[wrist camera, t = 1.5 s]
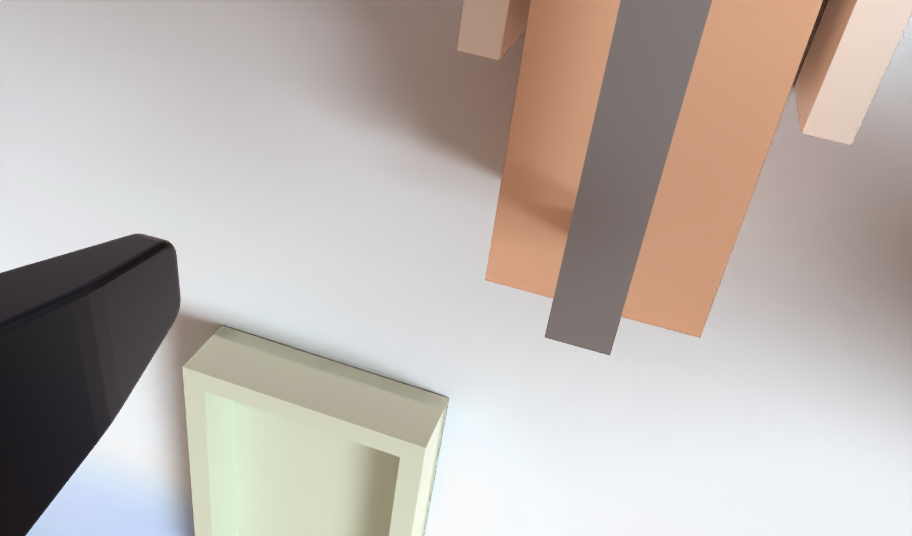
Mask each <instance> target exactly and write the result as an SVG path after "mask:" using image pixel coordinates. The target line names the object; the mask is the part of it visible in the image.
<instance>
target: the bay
mask: <svg viewBox="0 0 912 536" xmlns="http://www.w3.org/2000/svg"><path fill="white" fill-rule="evenodd" d="M530 3H531V0H464V2H463V9H462V16H461V23H460V30H459V37H458V45H457V51H461V52H465V53H469V54H473V55H478V56H482V57H486V58H490V59H494V60H498V61H499V60H500V59H501V58H502V57H503V56H504V54H505V53H506V52H507V51H508V50H509V49H510V47H511V46H512V45H513V44H514V43H515V42H516V40H517V39H518V38H519V37H520V36H521V34H522V33H523V32H524V31H525V30H526V27H527V21H528V15H529V9H530ZM911 14H912V0H829V1H828V3H827V6H826V8H825V11H824V13H823V16H822V18H821V21H820V23H819V26H818V28H817V31H816V34H815V36H814V39H813V41H812V44H811V46H810V49H809V51H808V54H807V56H806V59H805V61H804V64H803V66H802V69H801V71H800V74H799V76H798V79H797V81H796V84H795V86H794V90H795V96H796V102H797V108H798V114H799V120H800V126H801V132H802V134H806V135H810V136H814V137H818V138H822V139H827V140H831V141H835V142H839V143H843V144H847V145H852V143H853V141H854V138H855V136H856V134H857V132H858V130H859V128H860V125H861V123H862V121H863V119H864V117H865V114H866V112H867V110H868V108H869V106H870V104H871V101H872V99H873V97H874V95H875V93H876V90H877V88H878V86H879V84H880V82H881V80H882V77H883V75H884V73H885V71H886V69H887V67H888V64H889V62H890V60H891V58H892V56H893V53H894V51H895V49H896V47H897V45H898V43H899V40H900V38H901V36H902V34H903V32H904V29H905V27H906V25H907V23H908V21H909V19H910V16H911Z"/></svg>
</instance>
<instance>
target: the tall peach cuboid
mask: <svg viewBox="0 0 912 536" xmlns="http://www.w3.org/2000/svg"><path fill="white" fill-rule="evenodd" d="M822 2H823V0H531V3H530V9H529V15H528V21H527V27H526V33H525V40H524V46H523V52H522V58H521V64H520V70H519V76H518V82H517V89H516V95H515V101H514V107H513V113H512V119H511V125H510V131H509V138H508V144H507V150H506V156H505V162H504V168H503V174H502V181H501V187H500V193H499V199H498V205H497V211H496V217H495V223H494V230H493V236H492V242H491V248H490V254H489V260H488V266H487V272H486V279H485V280H487V281H491V282H494V283H498V284H502V285H505V286H509V287H513V288H517V289H520V290H524V291H528V292H532V293H535V294H539V295H543V296H546V297H550V298H554V299H553V303H552V308H551V312H550V316H549V321H548V325H547V330H546V334H545V337H546V338H549V339H553V340H556V341H560V342H563V343H567V344H571V345H574V346H578V347H581V348H585V349H589V350H592V351H596V352H599V353H603V354H607V355H610V353H611V350H612V346H613V343H614V339H615V336H616V332H617V329H618V326H619V322H620V319H621V317H625V318H628V319H632V320H636V321H640V322H643V323H647V324H651V325H654V326H658V327H662V328H666V329H669V330H673V331H677V332H680V333H684V334H688V335H692V336H695V337H699V338H700V337H701V334H702V331H703V328H704V326H705V323H706V320H707V317H708V315H709V312H710V309H711V306H712V304H713V301H714V298H715V296H716V293H717V290H718V287H719V285H720V282H721V279H722V276H723V274H724V271H725V268H726V265H727V263H728V260H729V257H730V254H731V252H732V249H733V246H734V243H735V241H736V238H737V235H738V232H739V230H740V227H741V224H742V221H743V219H744V216H745V213H746V210H747V208H748V205H749V202H750V200H751V197H752V194H753V191H754V189H755V186H756V183H757V180H758V178H759V175H760V172H761V169H762V167H763V164H764V161H765V158H766V156H767V153H768V150H769V147H770V145H771V142H772V139H773V136H774V134H775V131H776V128H777V125H778V123H779V120H780V117H781V115H782V112H783V109H784V106H785V104H786V101H787V98H788V95H789V93H790V90H791V87H792V84H793V82H794V79H795V76H796V73H797V71H798V68H799V65H800V62H801V60H802V57H803V54H804V51H805V49H806V46H807V43H808V40H809V38H810V35H811V32H812V29H813V27H814V24H815V21H816V19H817V16H818V13H819V10H820V8H821V5H822Z"/></svg>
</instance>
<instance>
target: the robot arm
mask: <svg viewBox="0 0 912 536" xmlns="http://www.w3.org/2000/svg"><path fill="white" fill-rule="evenodd" d="M179 308H180V287H179V276H178V265H177V255H176V250H175V248H174V246H173V245H172V244H171V243H170V242H169V241H167V240H163V239H160V238H156V237H152V236H148V235H145V234H132V235H129V236H126V237H122V238H119V239H115V240H112V241H108V242H105V243H102V244H98V245H95V246H91V247H88V248H84V249H81V250H78V251H74V252H71V253H67V254H64V255H60V256H57V257H53V258H50V259H47V260H43V261H40V262H36V263H33V264H29V265H26V266H23V267H19V268H16V269H12V270H9V271H5V272H2V273H0V536H26V534H27V533H28V532H29V530H30V529H31V528H32V526H33V525H34V524H35V523H36V521H37V520H38V519H39V517H40V516H41V515H42V514H43V512H44V511H45V510H46V508H47V507H48V506H49V504H50V503H51V502H52V501H53V499H54V498H55V497H56V495H57V494H58V493H59V492H60V490H61V489H62V488H63V486H64V485H65V484H66V482H67V481H68V480H69V479H70V477H71V476H72V475H73V473H74V472H75V471H76V470H77V468H78V467H79V466H80V464H81V463H82V462H83V460H84V459H85V458H86V457H87V455H88V454H89V453H90V451H91V450H92V449H93V448H94V446H95V445H96V444H97V442H98V441H99V440H100V438H101V437H102V436H103V434H104V433H105V432H106V430H107V429H108V427H109V426H110V425H111V423H112V422H113V420H114V419H115V417H116V416H117V414H118V413H119V411H120V410H121V408H122V407H123V405H124V403H125V402H126V400H127V398H128V397H129V395H130V393H131V392H132V390H133V389H134V387H135V385H136V384H137V382H138V380H139V379H140V377H141V375H142V374H143V372H144V371H145V369H146V367H147V366H148V364H149V362H150V361H151V359H152V357H153V356H154V354H155V353H156V351H157V349H158V348H159V346H160V344H161V343H162V341H163V339H164V338H165V336H166V335H167V333H168V331H169V330H170V328H171V326H172V325H173V323H174V321H175V319H176V317H177V315H178V312H179Z"/></svg>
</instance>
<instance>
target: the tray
mask: <svg viewBox="0 0 912 536" xmlns="http://www.w3.org/2000/svg"><path fill="white" fill-rule="evenodd" d="M182 370H183V383H184V397H185V410H186V424H187V437H188V451H189V464H190V477H191V491H192V504H193V518H194V531H195V536H424V534H425V528H426V523H427V517H428V512H429V506H430V501H431V495H432V490H433V484H434V479H435V473H436V468H437V462H438V457H439V451H440V446H441V440H442V435H443V429H444V424H445V418H446V413H447V407H448V402H449V398H447V397H444V396H440V395H437V394H434V393H431V392H428V391H425V390H422V389H419V388H416V387H412V386H409V385H406V384H403V383H400V382H397V381H394V380H391V379H387V378H384V377H381V376H378V375H375V374H372V373H369V372H366V371H362V370H359V369H356V368H353V367H350V366H347V365H344V364H341V363H338V362H334V361H331V360H328V359H325V358H322V357H319V356H316V355H313V354H309V353H306V352H303V351H300V350H297V349H294V348H291V347H288V346H284V345H281V344H278V343H275V342H272V341H269V340H266V339H263V338H259V337H256V336H253V335H250V334H247V333H244V332H241V331H238V330H235V329H231V328H228V327H225V326H222V325H221V326H220V327H219V329H218V330H217V331H216V332H215V333H214V334H213V335H212V336H211V337H210V338H209V339H208V340H207V341H206V342H205V343H204V344H203V345H202V346H201V348H200V349H199V350H198V351H197V352H196V353H195V354H194V355H193V356H192V357H191V358H190V359H189V360H188V361H187V362H186V363H185V364H184V365H183V367H182Z"/></svg>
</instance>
